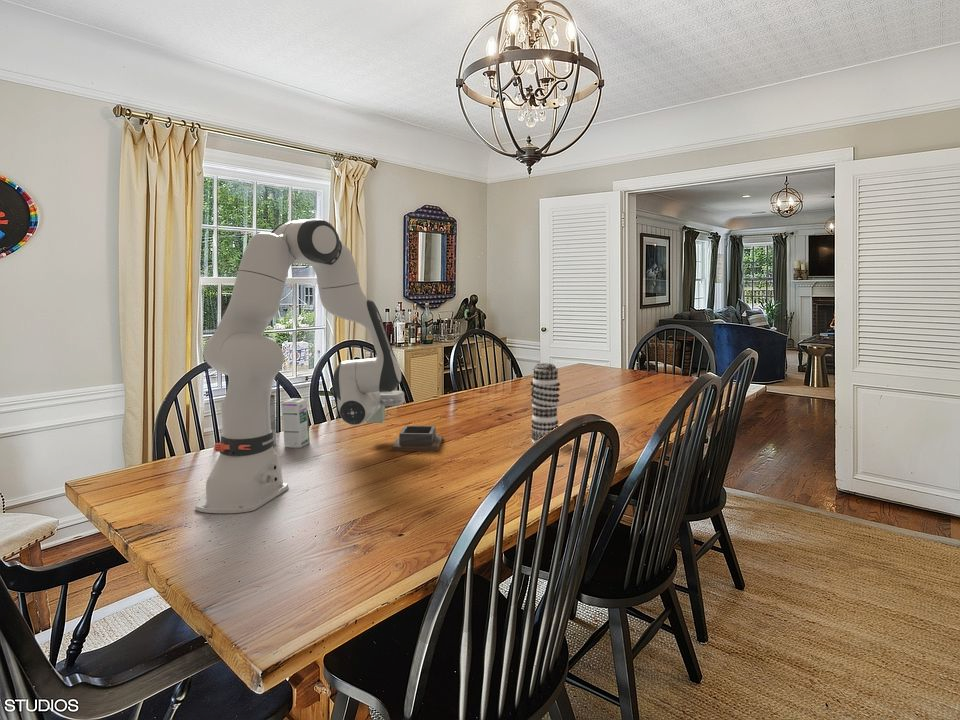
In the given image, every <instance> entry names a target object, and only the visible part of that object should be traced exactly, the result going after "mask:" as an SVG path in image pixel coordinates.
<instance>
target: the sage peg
mask: <svg viewBox="0 0 960 720" xmlns="http://www.w3.org/2000/svg"><path fill="white" fill-rule="evenodd" d="M384 421H386V406H381V407H380V408H379V410H378V411H377V412H376V413H375V414H374V415H373V416H372V417H371V418H370V419H369V420H367V421H366V422H365V423H367V424H368V423H369V424H383V423H384Z"/></svg>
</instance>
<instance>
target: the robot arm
mask: <svg viewBox="0 0 960 720" xmlns="http://www.w3.org/2000/svg"><path fill="white" fill-rule="evenodd" d="M245 247H246V248H245V249H244V252H243V253H242V254H243V255H242V256H241V259H240V263H239V265H238V269H237V274H236V278H235V282H234V284H233V288H232V289H233V290H232V293H231V296H230V300H229V301H228V302H229V303H228V305H227V307H226V309H225V312H224V314H223V315H222V317H221V320H220V322H219V324H218V325H217V327H216V329H215V331H214V333H213V334H212V335H211V336H210V337H209V338H208V339H207V341H206V342H205V344H204V347H203V356H204V358H203V359H204V360H205V362H206V363H207V365H208V366H209V367H211V368H212V369H213V370H215V371H216V372H217V373H219V374H222V375H226V376H227V377H228V384H227V389H226V393H225V396H224V399H223V400H222V401H221V404H220V415H221V416H220V417H221V429H222V430H221V433H222V434H221V436H220V441H219V442H215V443H214V446H213V448H214V452H218V453H219V456H218V458H217V460H216V461H215V463H214V465H213V467H212V469H211V471H210V473H209V475H208V477H207V479H206V483H205V493H204V495H203V496H202V497H201V498H200V499H199V500H198V502H197V503H196V504H195V505H194V506H195V508H194V509H195V511H197V512H200V513H206V514H207V513H209V514H239V513H246V512H252V511H255V510H258V508H260V507H262V506H263V505H265V504H267V503H269V502H270V501H271V500H273V499H275V498H277V496H280V495H281V494H282V493H284V492H285V491H287V490H288V489H289V484H288V483H287V482H285V481H284V478H283V473H282V464H281V458H280V455H279V454H278V453H277V452H276V450H275V449H274V447H273V446H275V445H274V436H273V431H272V430H271V420H270V397H271V395H272V390H273V386H274V381H275V379H276V376H277V375H278V373H280V371H281V369H282V367H283V365H284V360H285V359H284V352H283V350H282V347H281V346H280V344H278V343H277V342H276V341H275V340H273V339H272V338H269V337H268V336H265V335H264V333H265V331H266V329H267V327H268V326H269V324H270V323H271V322H272V320H274V319H275V318H276V317H277V315H278V313H279V310H280V306H281V302H282V298H283V294H284V289H285V285H286V281H287V276H288V272H289V269H290V268H291V266H292V264H305V265H306V264H309V265H310V266H311V267H312V269H313V270H314V273H315V275H316V283H317V288H318V293H319V298H320V302H321V305H322V307H323V308H324V309H325V311H326V312H328V313H329V314H331V315H332V316H334V317H337V318H340V319H343V320H347V321H350V322H354V323H357V324H359V325H361V326H363V327H364V328H365V329H366V330H367V331H368V333H369V336H370V338H371V342H372V344H373V347H374V350H375V353H376V357H372V358H370V357H369V358H360V359H358V358H357V359H348V360H342V361H341V362H340V363H339V364H338V365H337V366H336V368H335V370H334V372H333V375H332V376H333V377H332V381H333V382H332V383H333V384H332V385H333V389H334V393H335V395H336V400H337V401H336V404H337V406H336V407H337V411H338V412H339V416H340V418H341V419H342V420H343V422H345V423H346V424H348V425H352V426H359V425H361V424H364V423H366V421H367V420H369V419H370V418H371V417H372V416H373V415H374V414H375V413H376V412H377V411H378V410H379V408H380V407H381V406H385V407H397V406H400V405H402V404H403V403H404V402H405V391H403V390H395V389H396V388H398V387H399V385H400V384H401V382H402V370H401V367H400V365H399V363H398V360H397V357H396V355H395V353H394V350H393V348H392V344H391V341H390V339H389V336H388V333H387V330H386V328H385V325H384V322H383V319H382V317H381V314H380V311H379V309H378V306H377V305H376V303H375V302H374V301H373V300H370V299H368V298H367V296H366V295H365V294H364V292H363V290H362V287H361V285H360V278H359V273H358V271H357V270H358V269H357V265H356V263H355V259H354V257H353V255H352V251H351V250H350V248H349V247H347V245H344V244H342V241H341V240H340V236H339V234H338V232H337V230H336V229H335V227H334V226H333V224H331V223H330V222H329V221H326V220H324V219H321V218H320V219H319V218H309V219H304V218H302V219H294V220H290V221H286V222H282V223H280V224H278V225H277V226H275V228H273V229H272V230H271V232H259V233H256V234H254V235H252V236H251V237H250V239H249V240H248V243H247V245H246V246H245Z"/></svg>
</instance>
